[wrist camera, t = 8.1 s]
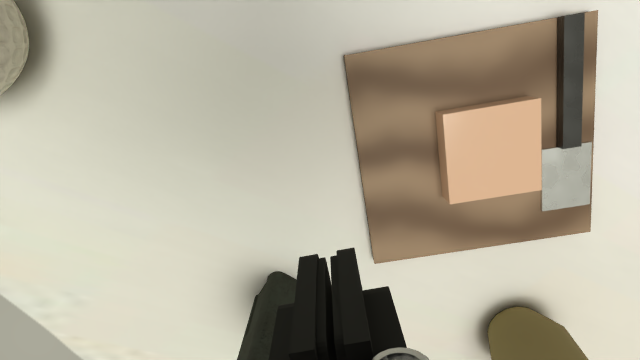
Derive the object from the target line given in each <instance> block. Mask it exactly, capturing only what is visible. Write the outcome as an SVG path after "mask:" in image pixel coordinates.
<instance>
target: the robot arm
mask: <svg viewBox="0 0 640 360" xmlns="http://www.w3.org/2000/svg"><path fill="white" fill-rule="evenodd" d="M330 259H331V281H332V285H331V281H330V276H329V272H328V267H327V262H326V259H325V258H320V259H319V257H318V254H315V255H309V256H304V257H300V258H299V265H298V274H297V283H296V292H295V301H294V302H293V303H287V304H281V305H279V306H278V309H277V315H276V320H275V326H274V331H273V337H272V343H271V348H270V354H269V360H429V359H428V358H427V356H425V355H423V354H422V353H420V352H419V351H416V350H413V349H410V348H407V347H406V343H405V340H404V337H403V333H402V330H401V326H400V323H399V320H398V316H397V313H396V310H395V306H394V303H393V299H392V296H391V293H390V290H389V287H388V286H387V287H381V288H375V289H369V290H363V291H362V285H361V280H360V275H359V270H358V265H357V259H356V254H355V249H354V248H349V249H343V250H338V251H337V256H331V257H330Z"/></svg>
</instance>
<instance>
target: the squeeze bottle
mask: <svg viewBox="0 0 640 360" xmlns="http://www.w3.org/2000/svg"><path fill="white" fill-rule="evenodd" d="M487 332H488V339H489V346H490V353H491V359H492V360H588V358H587V357H586V356H585V354H584V353H583V352H582V350H581V349H580V348H579V346H578V345H577V344H576V342H575V341H574V340H573V338H572V337H571V336H570V334H569V333H568V332H567V330H566V329H565V327H564V326H562V325H560V324H558V323H556V322H554V321H553V320H551V319H549V318H547V317H545V316H543V315H541V314H539V313H537V312H535V311H533V310H531V309H529V308H526V307H518V306H517V307H512V308H508V309H505V310H503V311H502V312H500V313H498V314H497V315H496V316H495V317H494V318H493V320H492V321H491V322H490V325H489V328H488V331H487Z"/></svg>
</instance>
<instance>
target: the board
mask: <svg viewBox="0 0 640 360" xmlns="http://www.w3.org/2000/svg"><path fill="white" fill-rule="evenodd" d="M597 23H598V10H596V11H591V12H585V27H584V67H583V106H582V143H584V142H592V154H591V184H590V204H588V205H581V206H575V207H568V208H562V209H555V210H548V211H541V190H540V191H533V192H527V193H520V194H514V195H507V196H501V197H495V198H488V199H482V200H475V201H469V202H462V203H456V204H449V203H448V202H447V201H446V200H445V199H444V198H443V197H442V187H441V175H440V163H439V151H438V139H437V127H436V115H435V112H436V111H442V110H448V109H454V108H460V107H466V106H472V105H478V104H484V103H490V102H496V101H502V100H507V99H513V98H519V97H525V96H530V97H537V98H541V149H547V148H553V147H556V95H557V18H552V19H546V20H541V21H535V22H529V23H524V24H518V25H513V26H507V27H501V28H496V29H490V30H485V31H479V32H473V33H468V34H462V35H457V36H451V37H445V38H440V39H434V40H429V41H423V42H417V43H412V44H406V45H401V46H395V47H389V48H384V49H378V50H373V51H367V52H361V53H356V54H350V55H345V56H344V61H345V68H346V74H347V81H348V88H349V95H350V102H351V109H352V116H353V123H354V130H355V137H356V143H357V150H358V157H359V164H360V171H361V178H362V185H363V192H364V199H365V205H366V212H367V219H368V226H369V233H370V240H371V247H372V254H373V259H374V263H375V264H377V263H383V262H390V261H397V260H403V259H410V258H417V257H424V256H430V255H437V254H444V253H450V252H457V251H464V250H470V249H477V248H484V247H491V246H497V245H504V244H511V243H517V242H524V241H531V240H537V239H544V238H551V237H558V236H564V235H571V234H578V233H584V232H590V228H591V199H592V170H593V140H594V111H595V82H596V53H597Z"/></svg>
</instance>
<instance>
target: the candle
mask: <svg viewBox="0 0 640 360" xmlns="http://www.w3.org/2000/svg"><path fill="white" fill-rule="evenodd" d="M296 283H297V280H296V279H294V278H292V277H290V276H288V275H286V274H285V273H282V272H274V273H272V274H270V275H269V276H268V279H267V283H266V284H265V286H264V287H263V289H262V291H261V292H260V294H259V295H256V297H255V300H254V303H253V307H252V310H251V314H250V317H249V320H248V324H247V327H246V331H245V334H244V338H243V341H242V345H241V348H240V351H239V355H238V358H237V360H269V354H270V348H271V343H272V337H273V331H274V326H275V320H276V315H277V309H278V306H279V305H281V304H287V303H293V302H294V301H295V292H296Z"/></svg>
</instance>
